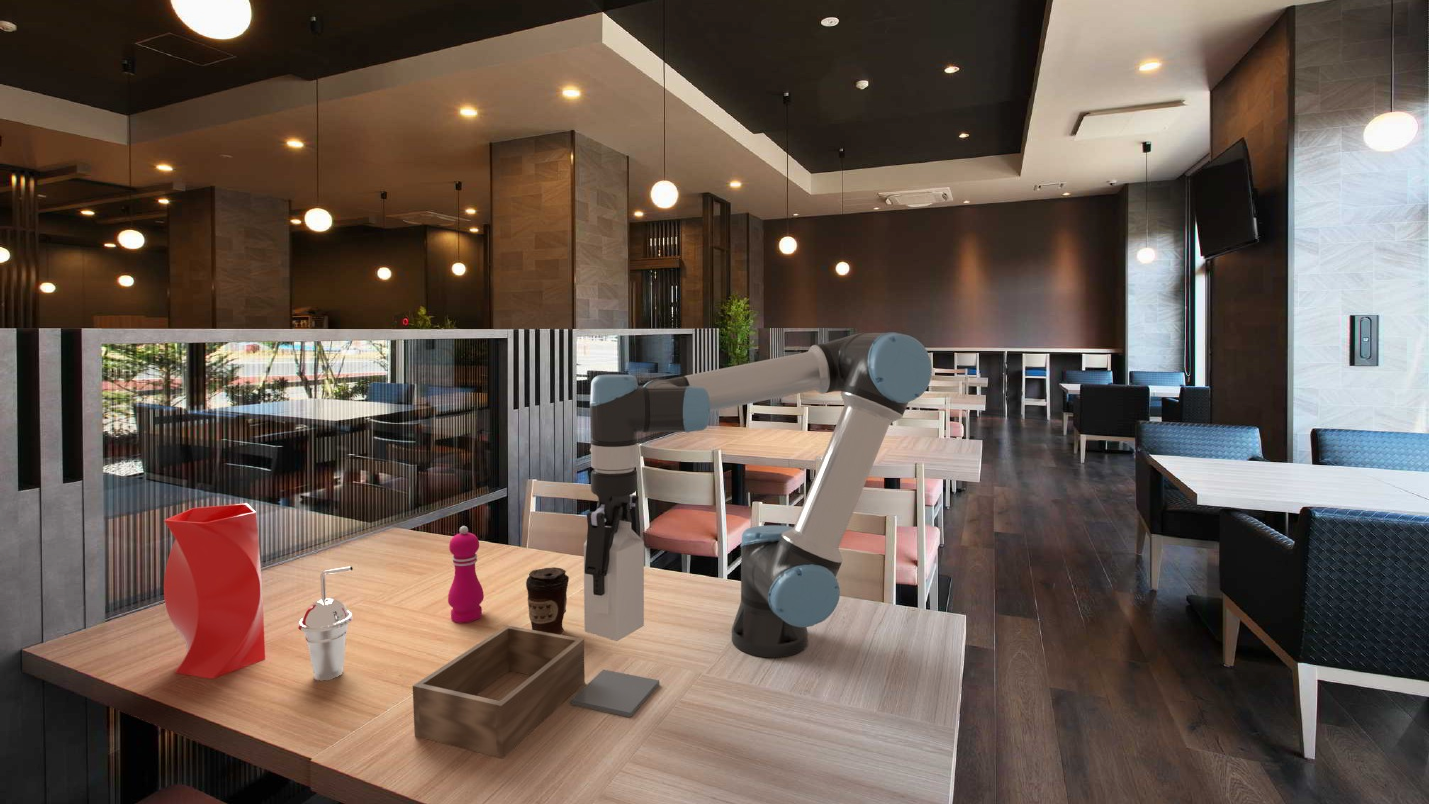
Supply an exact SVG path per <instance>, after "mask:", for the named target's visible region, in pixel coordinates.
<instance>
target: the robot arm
mask: <svg viewBox="0 0 1429 804" xmlns="http://www.w3.org/2000/svg"><path fill="white" fill-rule="evenodd" d="M932 365H933V364H932V360H931V358H930V356H929V353H928V350H927V349H926V347H925V346H924V345H923V344H922V342H920V341H919V340H918V339H917V338H915V337H912V336H911V335H908V334H904V333H903V334H902V333H899V332H895V331H894V332H893V331H892V332H891V331H890V332H862V333H861V332H860V333H859V332H858V333H856V334H852V335H849V336H844V337H842V338H837V339H833V340H831V341H828V342H823V343H819V344H813V345H811V346H810V347H809V349H808V351H806V352H805V351H804V352H800V353H795V354H789V355H784V356H780V357H774V358H770V359H764V360H763V359H762V360H759V361H754V362H749V363H744V364H738V365H733V366H729V367H723V368H718V369H713V370H708V371H703V372H698V373H692V374H688V375H684V376H678V377H671V378H667V379H661V378H657V379H652V380H650V381H648V382H646V383H645V384H643V386H639V383H638V379H637V377H636V376H634V375H631V374H599V375H596V376H595V377H593V378H592V380H591V381H590V382H591V383H590V400H589V413H590V415H589V417H590V418H589V420H590V421H589V422H590V449H589V452H590V458H591V459H590V466H591V468H592V469H593V470H592V471H591V472H590V490H591V493H592V494H593V495H596V496H597V497H598V498H597V504H596V510H595V511H590V510H589V511H587V513H586V521H587V522H586V523H587V531H586V532H587V533H586V540H587V545H586V558H585V574H590V575H593V612H596V613H602V614H610V574H608V573H607V571H608V565H609V551H610V548H611V546H612V544H613V538H614V534H615V533H617V531H618V526H619V521H620V520H621V521H626V522H631V529H632V530H633V531H634V532H635V533H636V534H637V535H638V536H639V537H640V538H641V531H640V518H639V517H640V516H639V499H640V497H639V495H635V494H634V493H636V492H637V490H638V471H637V470H636V469H635V468H636V467H637V466H638V438H637V437H638V434H639V433H669V432H670V433H676V432H677V433H680V432H681V433H683V432H684V433H690V432H699V431H704V430H706V429H707V427H708V425H709V424H710V418H711V412H715V411H719V410H725V409H729V408H735V407H739V406H744V405H749V404H755V403H759V402H764V401H767V400H773V399H778V398H783V397H788V396H793V395H798V394H802V393H803V394H804V393H807V392H813V391H816V392H817V393H819V394H822V395H823V394H824V395H825V394H829V393H834V392H835V393H836V392H840V396H841V399H842V401H843V405H844V406H843V408H842V410H841V413H840V415H839V417H838V420H837V423H836V424H835V427H834V429H833V432H832V435H831V437H830V439H829V442H828V444H827V446H826V448H825V451H824V453H823V456H822V459H821V461H820V463H819V466H818V468H817V470H816V473H815V476H814V478H813V480H812V483H811V485H810V488H809V490H808V493H807V495H806V497H805V500H804V502H803V504H802V507H801V510H800V512H799V514H798V517H797V519H796V522H795V524H794V526H788V525H772V524H771V525H760V526H759V525H758V526H751V527H749V528H746V529H745V530H744V531H743V532H742V535H741V544H740V550H741V551H740V552H741V553H740V558H741V559H740V560H741V561H740V565H741V566H740V568H741V569H740V603H739V607H738V609H737V613H736V616H735V619H734V620H733V624H732V627H731V642H732V644H733V645H734V646H735V647H736V648H737V649H738V650H739V651H741V652H743V653H746V654H749V655H752V656H756V657H763V658H786V657H789V656H790V657H791V656H793V655H796V654H800V653H801V652H803V650H805V649H804V648H807V646H808V644H807V643H808V642H809V641H808V640H809V639H808V638H809V637H808V636H809V633H808V628H809V627H814V626H815V625H818V624H820V623H822V622H824V621H826V620H827V619H828V618H829V617H831V615H832V614H833V613H834V612H835V610H836V608H837V606H838V604H839V601H840V595H841V590H840V585H839V582H838V578H837V575H838V573H839V571H840V567H841V565H842V563H843V556H842V555H841V551H840V550H839V548H840V546H841V542H842V540H843V538H844V535H845V532H846V530H847V528H848V526H849V523H850V521H851V518H852V516H853V513H854V511H855V509H856V506H857V504H858V501H859V499H860V497H861V494H862V492H863V490H864V487H865V485H866V482H867V480H868V478H869V475H870V472H871V470H872V468H873V465H874V462H875V461H876V458H877V456H878V453H879V451H880V449H881V447H882V444H883V442H884V439H885V437H886V434H887V432H888V429H889V427H890V425H891V424H892V423H894V422H896V421H898V420H901V419H902V418H903V416H904V413H905V411H906V410H907V407H908V404H909V403H910V402H912V401H914V400H916V399H917V398H920V397H921V396H923V394H924V393H925V392H926V391H927V388H929V385H930V383H931V379H932V376H933V375H932V374H933V367H932ZM605 526H609V527H605Z"/></svg>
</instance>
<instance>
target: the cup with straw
mask: <svg viewBox="0 0 1429 804" xmlns="http://www.w3.org/2000/svg"><path fill="white" fill-rule="evenodd" d="M353 569H354V568H353V566H345V567H339V568H334V569H328V570H323V571H322V572H321V573H320V579H319V580H320V595H321V599H319V600H316V601H315V602H313V603H312V604H311V605H310V606H308V608H307V609H306V611H305V612H304V615H303V617H302V618H300V620H299V621H298V626H297V628H298V630H300V631H301V632H303V635H304V638H305V641H306V643H307V646H308V647H307V648H308V653H309V658H310V663H311V667H312V673H313V674H314V676H313V678H314V680H316V681H319V680H320V681H319V682H321V681H322V682H323V680H326V681H331V680H334V679H336V678H335V677H337V678H338V676H339V675H340V676H341V675H343V673H344V670H343V667H344V664H345V651H346V639H347V634H348V629H349V624H350V623H351V622H352V621H353V619H354V616H353V614H352V612H351V610H349V609H348V608H347V607H346V605H345V604H344V602H343V601H340V600H338V599H335V598H332V597H328V598H327V594H326V591H327V590H326V589H327V588H326V575H332V574H338V573H345V572H351V571H353ZM342 672H343V673H342ZM340 676H339V677H340ZM333 678H334V679H333Z"/></svg>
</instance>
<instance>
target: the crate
mask: <svg viewBox="0 0 1429 804" xmlns="http://www.w3.org/2000/svg"><path fill="white" fill-rule="evenodd" d="M508 672H514V673H519V674H525V675H529V676H530V677H528V678H527V679H525V680H524V681H523V682H522V683H520V684H519V685H518V686H517V687H515V689H513V690H512V691H511V692H509V693H508V694H507V695H505V696H504V697H503V698H502V699H501V700H497V699H492V698H488V697H484V696H480V695H479V696H478V694H480V693H481V692H483V691H484V690H485V689H487V688H488V687H489V686H490V685H492V684H494V683H495V682H496V681H498V680H499V679H500V678H502V676H504V675H506V674H507V673H508ZM585 677H586V676H585V639H584V638H581V637H574V636H569V635H564V634H563V635H558V634H553V633H547V632H542V631H536V630H532V629H530V628H525V627H518V626H514V625H508V624H506V625H505V626H504V627H502V628H500V629H499V630H497V631H496V632H494V633H492V634H491V635H490V636H487V638H485V639H483V640H482V641H481V642H479V643H477V644H475V645H474V646H473V647H471V648H469V649H468V650H466V651H465V652H463V653H461V654H460V655H458V656H457V657H455V658H454V659H452V660H450V661H449V662H447V663H446V664H444V665H443V666H441V667H440V668H438V669H437V670H435V671H434V672H432V673H430V674H428V675H427V676H426V677H424V678H423V679H421V680H420V681H418V682H416V683H415V684H414V685H412V701H413V702H412V703H413V725H414V726H413V728H414V730H413V731H414V736H415V737H418V738H422V739H425V740H430V741H434V742H438V743H441V744H445V745H449V746H453V747H458V748H461V749H464V750H469V751H473V752H477V753H479V754H484V755H488V756H490V757H491V756H492V757H495V758H500V759H504V758H505V757H506V756H507V755H508V754H509V753H510V752H511V751H512V750H514V749H515V748H516V747H517V746H518V745H519V744H521V742H522V741H523V740H524V739H526V738H527V736H529V735H530V734H531V733H532V732H533V731H534V730H535V729H537V727H538V726H540V725H541V724H542V723H543V722H544V721H545V720H546V719H547V718H548V717H549V716H550V715H551V714H552V713H553V712H555V710H557V709H558V708H559V707H560V706H561V705H563V704H564V702H566V701H567V700H568V699H570V698H569V697H571V696H572V695H573V694H575V693H576V691H577V690H578V689H580V688H581V687H582V686H583V685H584V684H585V682H586V681H585Z"/></svg>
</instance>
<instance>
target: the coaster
mask: <svg viewBox="0 0 1429 804" xmlns="http://www.w3.org/2000/svg"><path fill="white" fill-rule="evenodd" d="M659 686H660V680H659V679H654V678H650V677H649V678H648V677H644V676H638V675H634V674H629V673H624V672H618V671H612V670H608V669H602V670H601V671H599V673H598V674H597V675H595V677H593V679H591V680H590V681H589V682H588V683H587V684H586V685H585V686H584V687H583V688H582V689H581V690H580V691H579V692H577V693H576V694H575V695H574V696H573V697H571V699H570V705H571V706H576V707H580V708H585V709H589V710H595V711H598V712H604V713H609V714H613V715H617V716H622V717H628V718H632V717H633V715H634V714H635V713H636V712H637V711H638V709H640V708H641V706H642V705H643V704H644V703H645V701H647V699H649V697H650V696H651V695H652V694H653V692H654V691H655V690H656V689H657V688H658V687H659Z"/></svg>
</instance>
